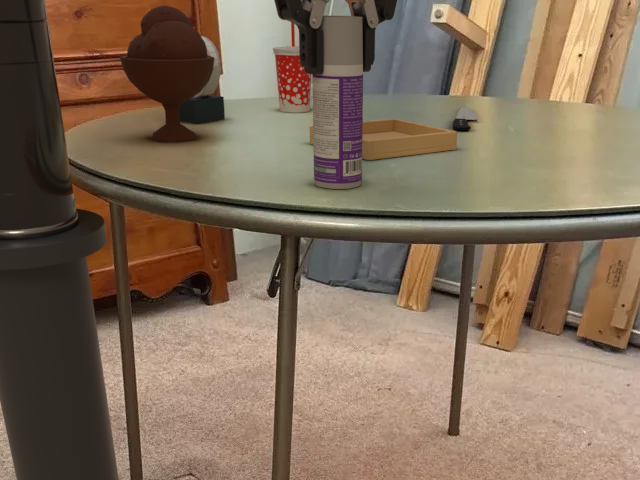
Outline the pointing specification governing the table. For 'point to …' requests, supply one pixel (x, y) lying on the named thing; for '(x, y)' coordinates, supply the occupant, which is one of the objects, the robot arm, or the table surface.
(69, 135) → the table surface
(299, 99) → the beverage cup
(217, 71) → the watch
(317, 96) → the container
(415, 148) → the tray
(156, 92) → the ice cream bowl
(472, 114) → the kitchen knife
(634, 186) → the table surface
